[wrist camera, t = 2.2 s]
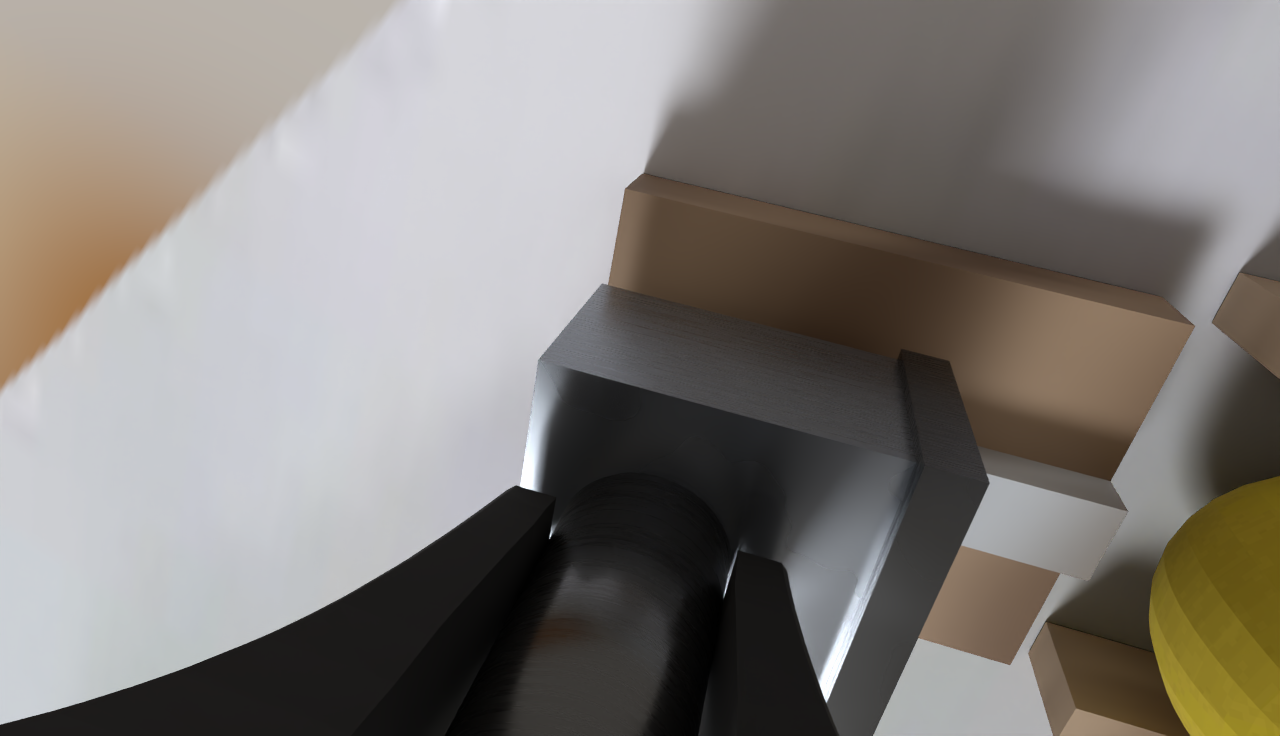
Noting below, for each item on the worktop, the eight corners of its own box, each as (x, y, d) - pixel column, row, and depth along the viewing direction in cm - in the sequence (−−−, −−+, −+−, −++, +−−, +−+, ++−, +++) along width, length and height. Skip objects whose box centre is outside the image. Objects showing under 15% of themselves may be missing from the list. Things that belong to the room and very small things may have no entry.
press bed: (1161, 297, 15) (1220, 348, 12) (996, 616, 18) (1019, 701, 16) (642, 173, 16) (611, 200, 14) (582, 496, 19) (550, 560, 17)
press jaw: (949, 360, 13) (1102, 825, 6) (848, 611, 16) (862, 1164, 8) (603, 272, 14) (335, 583, 6) (559, 526, 16) (330, 963, 9)
